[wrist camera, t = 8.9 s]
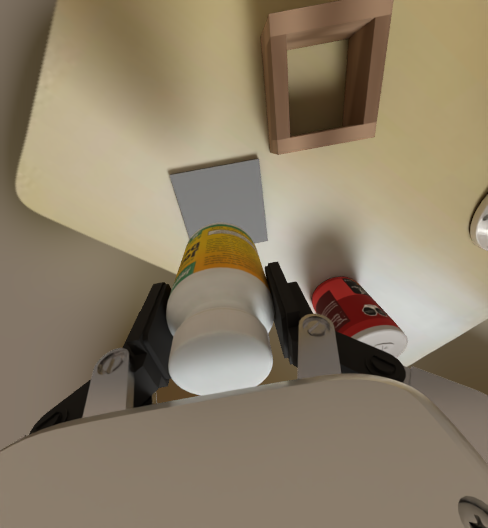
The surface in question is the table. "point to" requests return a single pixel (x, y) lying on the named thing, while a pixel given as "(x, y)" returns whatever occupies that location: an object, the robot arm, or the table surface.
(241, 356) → the supplement bottle
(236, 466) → the robot arm
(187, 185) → the rubber mat
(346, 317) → the canned food
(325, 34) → the sleeve holder
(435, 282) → the table surface
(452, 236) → the table surface
